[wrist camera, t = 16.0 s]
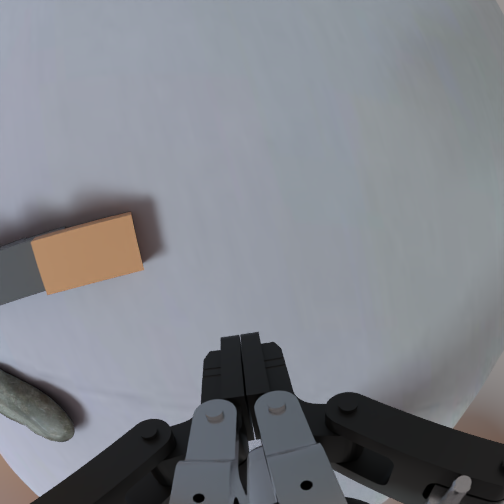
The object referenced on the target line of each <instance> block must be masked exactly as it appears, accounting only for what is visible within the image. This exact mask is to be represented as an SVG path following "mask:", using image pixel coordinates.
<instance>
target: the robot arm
mask: <svg viewBox="0 0 504 504" xmlns="http://www.w3.org/2000/svg"><path fill="white" fill-rule="evenodd" d="M240 336H241V342H240V337H239V335H235V336H228V337H221V350H218V351H210V352H209V353H208V355H207V356H206V358H205V359H204V364H203V378H202V394H201V405H199V406H198V407H197V408H196V410H195V412H194V414H193V418H191V419H190V420H188V421H186V422H183V423H180V424H177V425H174V426H171V427H170V426H169V425H168V424H167V423H166V422H165V421H162V420H159V419H149V420H145V421H142V422H140V423H139V424H137V425H136V426H135V427H133V428H132V429H131V430H129V431H128V432H127V433H126V434H124V435H123V436H122V437H121V438H119V439H118V440H117V441H115V442H114V443H113V444H112V445H110V446H109V447H108V448H106V449H105V450H104V451H102V452H101V453H100V454H99V455H97V456H96V457H95V458H93V459H92V460H91V461H89V462H88V463H87V464H85V465H84V466H83V467H81V468H80V469H78V470H77V471H76V472H74V473H73V474H72V475H70V476H69V477H67V478H66V479H65V480H63V481H62V482H61V483H59V484H58V485H56V486H55V487H53V488H52V489H51V490H49V491H48V492H46V493H45V494H43V495H42V496H41V497H39V498H38V499H36V500H35V501H34V502H32V503H30V504H369V503H367V502H364V501H361V500H358V499H354V498H348V497H344V494H343V492H342V490H341V487H340V485H339V483H338V481H337V478H336V476H335V474H334V471H333V470H335V471H337V472H339V473H341V474H343V475H345V476H346V477H348V478H350V479H352V480H354V481H356V482H358V483H360V484H362V485H364V486H366V487H368V488H371V489H373V490H375V491H377V492H379V493H381V494H383V495H386V496H388V497H390V498H393V499H395V500H397V501H399V502H402V503H404V504H504V444H502V443H498V442H494V441H491V440H487V439H484V438H480V437H477V436H474V435H470V434H467V433H464V432H461V431H458V430H454V429H452V428H449V427H446V426H443V425H440V424H437V423H434V422H431V421H428V420H426V419H423V418H420V417H417V416H415V415H412V414H409V413H406V412H404V411H401V410H398V409H396V408H393V407H391V406H388V405H385V404H383V403H380V402H378V401H375V400H373V399H370V398H368V397H366V396H363V395H361V394H358V393H353V392H345V393H340V394H337V395H335V396H333V397H332V398H331V399H329V401H328V402H327V404H312V403H307V402H304V401H302V400H300V399H299V398H298V397H297V396H296V395H295V394H294V392H293V389H292V385H291V381H290V378H289V374H288V371H287V367H286V364H285V360H284V357H283V353H282V350H281V348H280V347H279V346H278V345H277V344H276V343H274V342H270V343H264V344H261V343H260V337H259V332H254V333H248V334H241V335H240ZM241 346H242V347H241ZM252 423H253V424H252ZM253 427H254V432H255V436H256V440H257V439H261V443H262V447H260V448H257V449H255V450H253V451H251V452H250V453H249V446H248V441H251V440H254V432H253Z"/></svg>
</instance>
